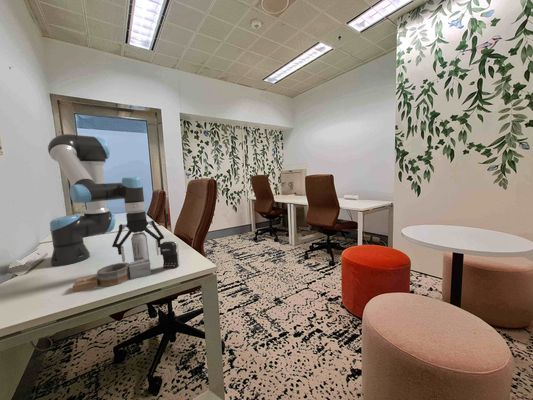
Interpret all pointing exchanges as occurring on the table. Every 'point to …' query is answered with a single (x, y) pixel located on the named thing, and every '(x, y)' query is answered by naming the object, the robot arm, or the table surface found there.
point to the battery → (170, 254)
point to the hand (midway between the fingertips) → (141, 257)
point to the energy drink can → (140, 246)
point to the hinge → (114, 275)
